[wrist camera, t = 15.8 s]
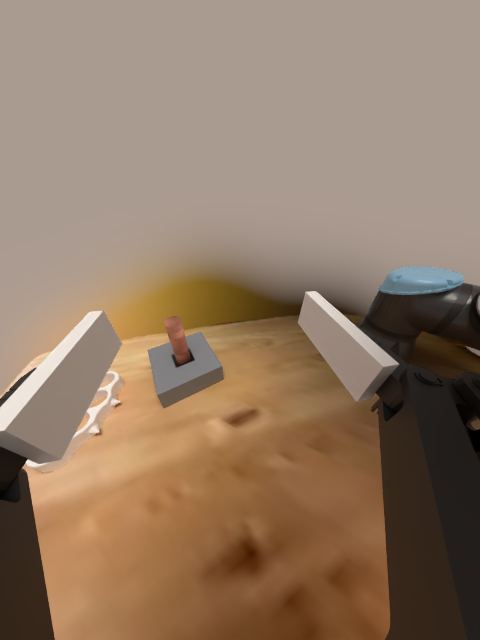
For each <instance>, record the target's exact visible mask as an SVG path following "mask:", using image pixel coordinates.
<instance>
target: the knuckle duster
mask: <svg viewBox="0 0 480 640" xmlns="http://www.w3.org/2000/svg"><path fill="white" fill-rule="evenodd" d="M109 381H112V382H111V383H110V384H109V385H107V386H105V387H102V388H100V387H101V386H102V385H103V384H105V383H106V382H109ZM100 387H99V389H98V390H97V392H96V394H95V396H94V398H93V400H92V402H91V404H90V406H89V408H88V410H87V411H86V413H85V415H84V417H83V419H86V418H90V419H89V421H88V423H87V424H86V425H85V426H84V427H83V428H82V429H81V430H80V431H78V432H76V433H75V434H74V436H73V438H72V440H71V442H70V444H69V446H68V448H67V450H66V452H65V453H64V455H63V457H62V459H61V460H58V461H53V462H48V463H43V464H37V463H35V462H33V461H30V460H27V461H26V465H27V466H28V467H30V468H33V469H35V470H38V471H40V472H43V473H48V472H52V471H55V470H57V469H59V468H61V467H62V466H64V465H65V464H67V463H68V462H69V461H70V460H71V458H72V456H73V455H74V453H75V452H76V451H77V449H78V448H79V447H80V446H81V445H82V444H83V443H85V442H86V441H87V440H89V439H91V438H92V437H93V436H94V435H95V434H96V433H100V431H99V430H100V429H101V428H102V425H103V422H104V420H105V419H106V417H107V416H108V415H109V414H110V413H111V412H112V411H113V410H114V408H115V406H116V404H118V403H120V402H121V401H119V400H117V395H118V393H119V392H120V390H121V389H122V388H123V387H124V381H123V380H122V378H121V377H120V376H119V374H118V373H117V372H115V371H107V373H106V375H105V377H104V379H103V381H102V383H101V385H100ZM102 398H106V399H105V401H104V402H102V403H101V404H100V405H98V406H96V407H92V408H90V407H91V406H92V404H93V403H95V402H96V401H97V400H99V399H102ZM83 419H82V420H83Z"/></svg>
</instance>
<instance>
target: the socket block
mask: <svg viewBox="0 0 480 640" xmlns="http://www.w3.org/2000/svg"><path fill="white" fill-rule="evenodd" d="M185 338H186V342H187V346H188V350H189V354H190V358H191V362H190V363H187V364H185V365H182V366H180V367H179V366H178V363H177V360H176V357H175V354H174V351H173V348H172V345H171V342H169V343H167V344H164V345H161V346H158V347H155V348H152V349H149V350H148V354H149V358H150V363H151V368H152V373H153V377H154V382H155V387H156V392H157V396H158V398H159V400H160V401H161V403H162V405H163V407H164V408H165V407H167V406H169V405H172V404H174V403H176V402H178V401H180V400H182V399H184V398H186V397H188V396H190V395H192V394H194V393H196V392H198V391H200V390H202V389H204V388H206V387H208V386H210V385H213V384H215V383H217V382H219V381H221V380H223V369H222V365H221V363H220V362H219V360H218V358H217V357H216V355H215V354H214V352H213V350H212V349H211V347H210V346H209V344H208V342H207V341H206V339H205V338H204V336H203V334H202V333H201V332H198V333H196V334H193V335H190V336H187V337H185Z"/></svg>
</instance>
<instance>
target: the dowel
mask: <svg viewBox="0 0 480 640" xmlns="http://www.w3.org/2000/svg"><path fill="white" fill-rule="evenodd" d="M164 324H165V327H166V330H167V333H168V336H169V339H170V342H171V345H172V348H173V351H174V354H175V357H176V360H177V363H178V366H179V367H180V366H182V365H185V364H187V363H190V362H191V358H190V354H189V350H188V346H187V342H186V338H185V334H184V330H183V326H182V322H181V319H180V318H179V317H176V316H174V317H169V318H167V319H166V320H165V321H164Z"/></svg>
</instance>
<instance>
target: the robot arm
mask: <svg viewBox="0 0 480 640" xmlns="http://www.w3.org/2000/svg"><path fill="white" fill-rule="evenodd" d="M463 282H464V276H463V275H462V274H460V273H457V272H454V271H447V270H446V269H440V268H432V267H405V268H399V269H396V270H393V271H392V272H390V273H389V274H388V275H387V277H386V279H385V280H384V282H383V284H382V285H381V286H380V288H379V292H378V293H377V296H376V297H375V299H374V301H373V303H372V305H371V307H370V308H369V310H368V312H367V314H366V316H365V318H364V319H363V320H362V321H360V322H359V323H358V324H357V325H356V326H355V325H354V324H353V323H352V322H350V321H349V320H348V319H347V318H346V317H345V316H344V315H342V314H341V313H340V312H339V311H338V310H337V309H335V308H334V307H333V306H332V305H331V304H330V303H329V302H327V301H326V300H325V299H324V298H323V297H322V296H321V295H319V294H318V293H317V292H316V291H312V292H306V293H305V297H304V301H303V305H302V309H301V313H300V317H299V321H298V324H299V325H300V326H301V328H302V329H303V330H304V332H305V333H306V334H307V336H308V337H309V338H310V340H311V341H312V343H313V344H314V345H315V347H316V348H317V349H318V351H319V352H320V353H321V355H322V356H323V357H324V359H325V360H326V362H327V363H328V364H329V366H330V367H331V368H332V370H333V371H334V372H335V374H336V375H337V376H338V378H339V379H340V381H341V382H342V383H343V385H344V386H345V387H346V389H347V390H348V391H349V393H350V394H351V395H352V397H353V398H354V400H355V401H356V402H360V401H365V400H370V399H371V398H372V396H373V395H374V394H375V393H376V394H377V395H378V396H379V397H380V399H379V400H378V401H377V402H376V403H375V404H374V405H373V406H372V408H371V411H372V412H374V411H375V410H376V409H377V407H378V412H377V414H378V416H379V433H380V449H381V466H382V483H383V500H384V516H385V533H386V550H387V567H388V583H389V600H390V630H389V633H388V635H387V637H386V639H385V640H480V429H479V430H476V429H474V428H473V427H472V425H471V424H470V423H471V422H473V421H475V420H477V419H478V418H479V419H480V374H476V373H471V372H465V373H463V374H461V375H460V376H459V377H458V378H456V379H450V378H442V377H439V376H438V375H437V374H435V373H433V372H432V371H430V370H427V369H425V368H423V367H418V366H409V365H408V364H407V363H408V362H409V361H410V360H411V358H412V355H413V350H414V346H415V341H416V338H417V337H418V336H419V334H420V333H421V332H422V331H423V332H427V333H430V334H433V335H436V336H439V337H442V338H445V339H448V340H450V341H453V342H456V343H459V344H462V345H465V346H468V347H471V348H474V349H477V350H480V286H477V285H471V284H466V283H463ZM121 345H122V343H121V341H120V339H119V337H118V336H117V334H116V332H115V330H114V328H113V327H112V325H111V323H110V322H109V320H108V318H107V316H106V314H105V313H104V311H94V312H89V313H88V314H87V315H86V316H85V317H84V318H83V319H82V321H81V322H80V323H79V324H78V325H77V326H76V327H75V328H74V329H73V330H72V331H71V332H70V333H69V334H68V335H67V336H66V338H65V339H64V340H63V341H62V342H61V343H60V344H59V345H58V346H57V347H56V348H55V349H54V350H53V351H52V352H51V354H50V355H49V356H48V357H47V358H46V359H45V360H44V361H43V362H42V363H41V364H40V365H39V366H38V367H37V368H34V369H33V370H31V371H30V372H28V373H27V374H26V375H24V376H23V377H21V378H20V379H19V380H18V381H17V382H16V383H15V384H14V385H13V386H12V387H11V388H10V389H9V390H10V391H9V392H6V393H5V394H4V396H3V397H2V398H1V399H0V640H55V638H54V632H53V626H52V620H51V614H50V608H49V602H48V596H47V590H46V584H45V578H44V572H43V566H42V560H41V554H40V548H39V542H38V536H37V530H36V524H35V518H34V512H33V506H32V500H31V494H30V488H29V482H28V476H27V472H26V471H25V470H24V469H22V467H23V466H24V464H25V463H26V461H27V460H30V461H33V462H35V463H37V464H43V463H48V462H53V461H58V460H61V459H62V457H63V455H64V453H65V452H66V450H67V448H68V446H69V444H70V442H71V440H72V438H73V436H74V434H75V432H76V431H77V429H78V427H79V425H80V423H81V421H82V419H83V417H84V415H85V413H86V411H87V410H88V408H89V406H90V404H91V402H92V400H93V398H94V396H95V394H96V392H97V390H98V389H99V387H100V385H101V383H102V381H103V379H104V377H105V375H106V373H107V371H108V369H109V368H110V366H111V364H112V362H113V360H114V358H115V356H116V354H117V352H118V350H119V349H120V347H121Z"/></svg>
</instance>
